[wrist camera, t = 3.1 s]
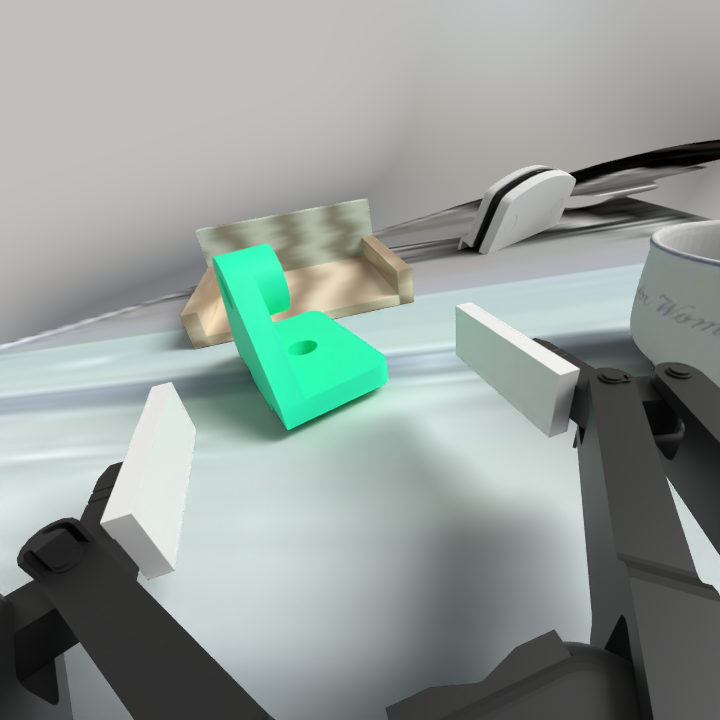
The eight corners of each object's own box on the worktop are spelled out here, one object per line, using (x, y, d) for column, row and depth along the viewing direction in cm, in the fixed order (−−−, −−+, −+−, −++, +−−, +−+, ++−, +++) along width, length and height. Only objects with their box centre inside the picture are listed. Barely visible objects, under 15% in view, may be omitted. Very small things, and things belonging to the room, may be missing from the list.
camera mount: (395, 393, 24) (378, 239, 19) (292, 443, 22) (237, 279, 16) (322, 334, 34) (296, 219, 28) (243, 364, 31) (198, 243, 26)
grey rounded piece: (527, 221, 57) (556, 152, 50) (553, 234, 55) (588, 164, 47) (455, 249, 50) (477, 173, 42) (481, 266, 47) (510, 188, 40)
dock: (194, 349, 34) (158, 267, 30) (219, 289, 50) (197, 229, 45) (413, 301, 36) (408, 219, 32) (372, 258, 52) (365, 198, 48)
